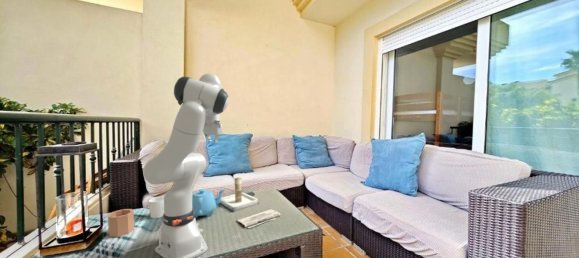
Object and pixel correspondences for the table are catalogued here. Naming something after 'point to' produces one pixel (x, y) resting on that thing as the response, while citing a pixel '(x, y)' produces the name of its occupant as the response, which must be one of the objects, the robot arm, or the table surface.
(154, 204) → the white cup
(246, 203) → the tray
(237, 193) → the dowel
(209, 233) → the table surface
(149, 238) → the table surface
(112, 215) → the pot
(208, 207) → the teapot
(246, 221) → the newspaper
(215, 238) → the table surface
